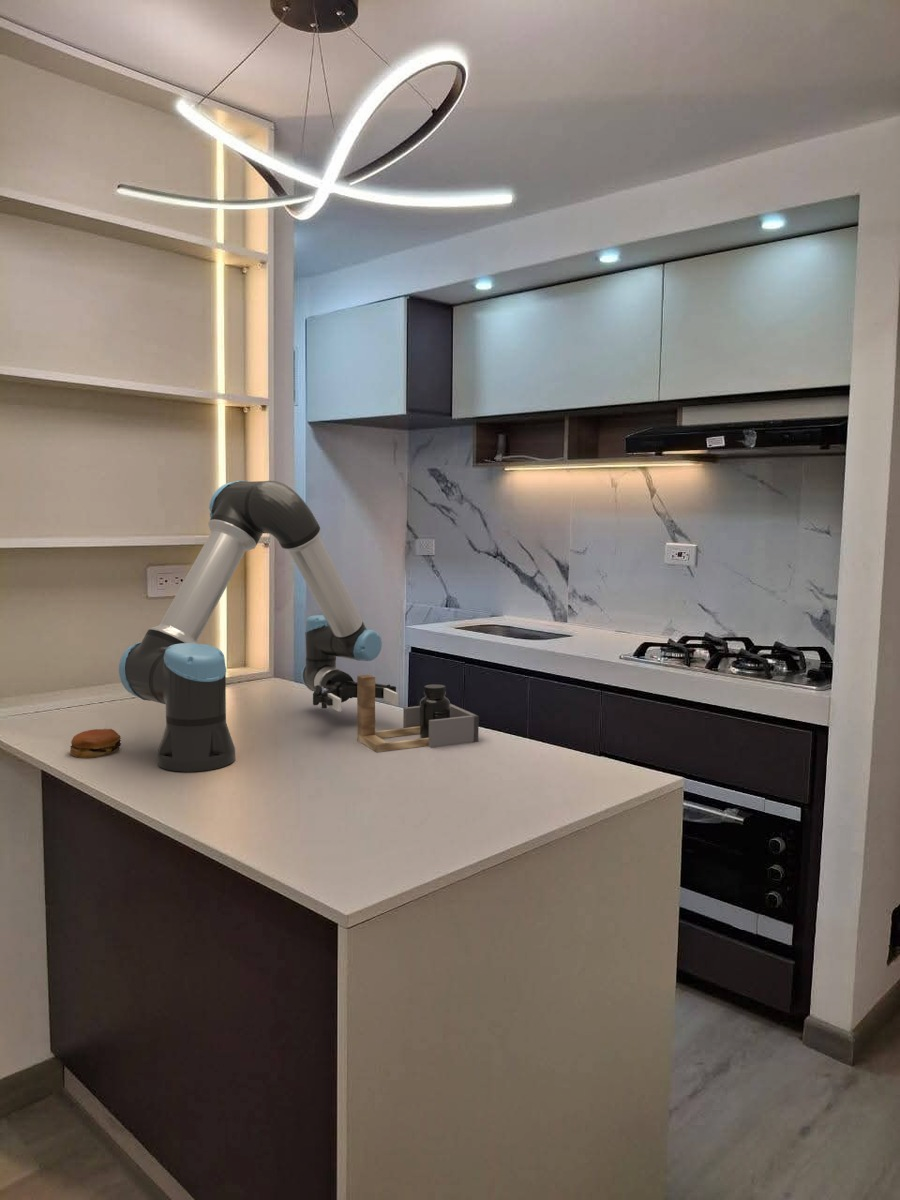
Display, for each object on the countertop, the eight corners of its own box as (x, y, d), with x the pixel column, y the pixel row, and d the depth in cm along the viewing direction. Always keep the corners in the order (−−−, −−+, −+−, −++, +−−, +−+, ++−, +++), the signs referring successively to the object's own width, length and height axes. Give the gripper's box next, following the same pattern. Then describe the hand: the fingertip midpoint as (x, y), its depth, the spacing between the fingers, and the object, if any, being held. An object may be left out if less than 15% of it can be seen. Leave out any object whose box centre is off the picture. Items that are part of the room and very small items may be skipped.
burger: (63, 759, 181) (63, 736, 180) (81, 747, 190) (80, 725, 190) (113, 759, 181) (112, 737, 181) (127, 747, 190) (127, 726, 190)
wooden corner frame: (443, 729, 207) (444, 668, 205) (465, 740, 197) (466, 676, 196) (357, 739, 197) (357, 675, 195) (376, 752, 187) (376, 684, 186)
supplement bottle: (451, 735, 203) (452, 683, 202) (448, 743, 196) (449, 689, 195) (421, 734, 203) (422, 682, 202) (417, 741, 197) (418, 688, 195)
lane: (448, 727, 209) (448, 702, 209) (478, 742, 197) (478, 715, 196) (403, 733, 204) (403, 707, 203) (431, 748, 191) (431, 721, 191)
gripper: (381, 695, 220) (419, 713, 202) (284, 704, 209) (314, 724, 190) (382, 665, 219) (419, 680, 201) (284, 673, 208) (314, 690, 189)
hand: (368, 702), depth 195 cm, fingers open, 13 cm apart
